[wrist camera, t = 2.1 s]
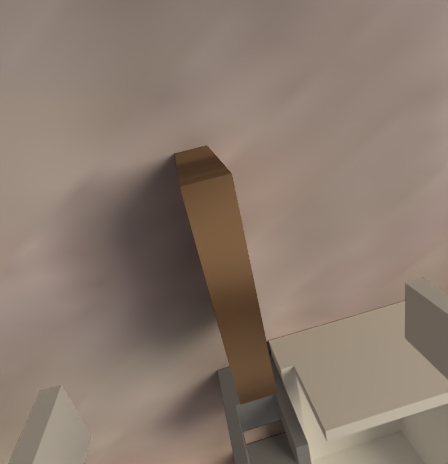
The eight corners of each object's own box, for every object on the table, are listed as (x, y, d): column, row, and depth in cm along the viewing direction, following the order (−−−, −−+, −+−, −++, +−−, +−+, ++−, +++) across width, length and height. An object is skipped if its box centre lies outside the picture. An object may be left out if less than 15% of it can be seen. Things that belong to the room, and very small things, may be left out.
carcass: (213, 356, 25) (232, 460, 18) (407, 300, 27) (498, 376, 19) (249, 474, 32) (273, 585, 25) (403, 424, 33) (470, 516, 26)
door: (174, 153, 19) (179, 186, 12) (207, 145, 19) (231, 173, 12) (217, 311, 24) (240, 404, 17) (243, 304, 24) (277, 393, 17)
